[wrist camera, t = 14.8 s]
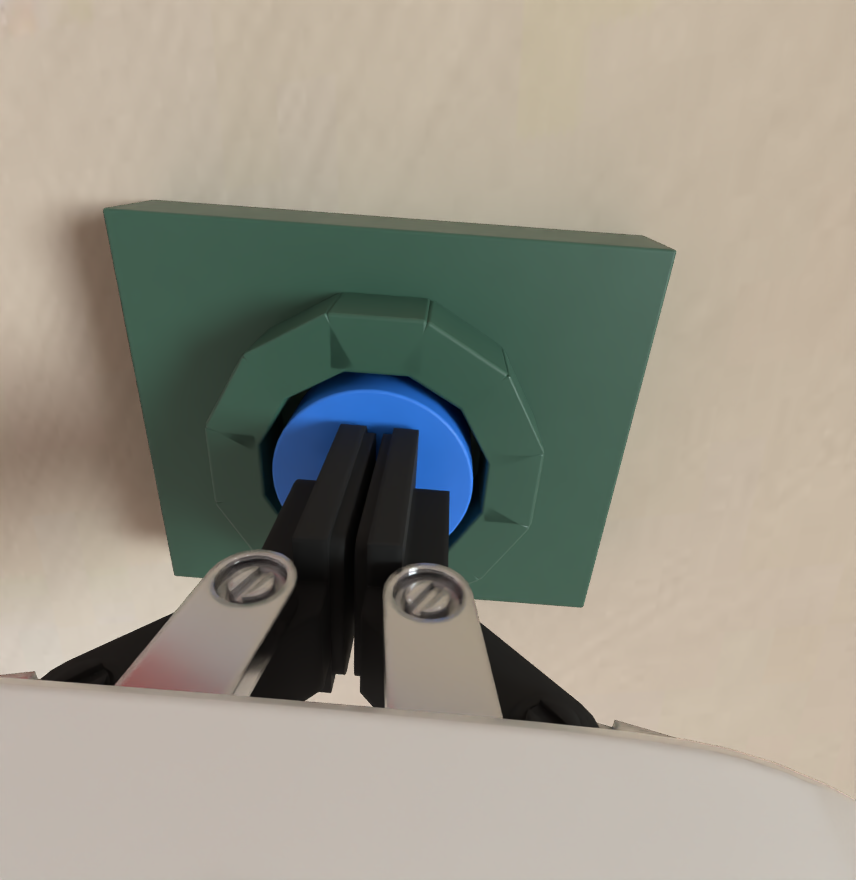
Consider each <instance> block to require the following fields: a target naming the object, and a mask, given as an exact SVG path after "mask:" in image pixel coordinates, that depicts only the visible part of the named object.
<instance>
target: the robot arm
mask: <svg viewBox="0 0 856 880" xmlns="http://www.w3.org/2000/svg"><path fill="white" fill-rule="evenodd" d="M418 440H419V430H414V429H402V428H394V429H393V433H392V434H383V437H382V441H381V444H380V448H379V452H378V456H377V460H376V433H369V432H367V426H363V425H350V424H341V425H340V426H339V429H338V431H337V433H336V436H335V438H334V440H333V443H332V445H331V447H330V450H329V452H328V454H327V457H326V459H325V461H324V464H323V466H322V468H321V471H320V473H319V475H318V478H317V480H304V479H297V480H296V481H295V482H294V484H293V486H292V488H291V490H290V492H289V494H288V496H287V498H286V500H285V502H284V504H283V506H282V508H281V510H280V512H279V514H278V516H277V518H276V520H275V523H274V525H273V527H272V529H271V531H270V533H269V535H268V537H267V539H266V541H265V543H264V545H263V547H262V549H261V550H260V549H257V550H248V551H243V552H239V553H236V554H233V555H230V556H228V557H227V558H225V559H223V560H221V561H219V562H218V563H217V564H216V565H215V566H214V567H213V568H211V569H210V570H209V572H208V573H207V574H206V575H205V576H204V578H203V579H202V580H201V581H200V582H199V584H198V585H197V586H196V587H195V588H194V590H193V591H192V592H191V593H190V594H189V596H188V597H187V598H186V599H185V601H184V602H183V603H182V604H181V605H180V607H179V608H178V609H177V610H176V611H175V612H174V613H172V614H170V615H168V616H166V617H163V618H161V619H159V620H157V621H155V622H152V623H150V624H148V625H146V626H144V627H141V628H139V629H137V630H135V631H133V632H130V633H128V634H126V635H124V636H122V637H119V638H117V639H115V640H113V641H111V642H108V643H106V644H104V645H102V646H100V647H97V648H95V649H93V650H91V651H89V652H86V653H84V654H82V655H80V656H78V657H75V658H73V659H71V660H69V661H67V662H65V663H63V664H62V665H60V666H58V667H56V668H55V669H53V670H51V671H50V672H49V673H47V674H46V675H45V676H44V677H42V678H41V679H38V678H37V676H36V673H35V671H33V672H24V673H15V674H6V675H0V880H856V800H855V799H853V798H852V797H850V796H848V795H846V794H844V793H842V792H841V791H839V790H837V789H835V788H833V787H831V786H829V785H827V784H825V783H823V782H821V781H818V780H816V779H813V778H811V777H809V776H806V775H804V774H801V773H799V772H797V771H794V770H792V769H789V768H787V767H785V766H782V765H780V764H777V763H775V762H771V761H768V760H765V759H762V758H759V757H755V756H752V755H749V754H746V753H743V752H739V751H736V750H733V749H729V748H725V747H720V746H715V745H711V744H706V743H701V742H697V741H692V740H687V739H680V738H675V737H672V736H668V735H665V734H662V733H658V732H655V731H651V730H648V729H644V728H641V727H638V726H634V725H631V724H627V723H624V722H620V721H617V720H615V721H614V723H613V726H612V727H610V726H606V725H603V724H599V723H597V722H596V721H595V719H594V717H593V716H592V715H591V714H590V713H589V712H588V711H587V710H586V709H585V708H584V706H583V705H582V704H581V703H579V702H578V701H577V700H576V699H574V698H573V697H572V696H571V695H569V694H568V693H567V692H566V691H564V690H563V689H562V688H561V687H559V686H558V685H557V684H556V683H555V682H553V681H552V680H551V679H550V678H548V677H547V676H546V675H545V674H543V673H542V672H541V671H540V670H538V669H537V668H536V667H535V666H534V665H532V664H531V663H530V662H529V661H527V660H526V659H525V658H524V657H522V656H521V655H520V654H519V653H517V652H516V651H515V650H514V649H512V648H511V647H510V646H509V645H508V644H506V643H505V642H504V641H503V640H501V639H500V638H499V637H498V636H496V635H495V634H494V633H493V632H491V631H490V630H489V629H488V628H486V627H485V626H484V625H483V624H482V623H480V621H479V617H478V613H477V609H476V605H475V601H474V597H473V593H472V590H471V588H470V586H469V583H468V582H467V581H466V580H465V579H464V578H463V577H462V575H461V574H459V573H458V572H456V571H454V570H452V569H451V568H449V567H448V554H449V505H450V491H443V490H430V489H418V488H415V487H416V471H417V456H418ZM353 639H354V675H355V676H360V693H361V694H362V695H363V696H364V697H365V698H366V699H367V701H368V702H369V703H370V704H371V705H372V706H373V707H366V706H354V705H343V704H331V703H319V702H307V701H305V700H307V699H308V698H310V697H311V696H313V695H314V694H316V693H318V692H326V693H331V692H332V687H333V683H334V679H335V674H343V675H345V674H346V672H347V668H348V663H349V658H350V653H351V649H352V644H353Z"/></svg>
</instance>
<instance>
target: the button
mask: <svg viewBox="0 0 856 880" xmlns="http://www.w3.org/2000/svg"><path fill="white" fill-rule="evenodd" d="M341 424H350V425H363V426H367V432H369V433H376V460H377V456H378V452H379V448H380V444H381V441H382V437H383V434H392V433H393V429H394V428H402V429H414V430H419V440H418V456H417V471H416V487H415V488H418V489H430V490H443V491H450V505H449V535H450V534H451V533H452V532H453V531H454V530H455V528H456V527H457V526H458V524H459V523H460V522H461V520H462V518H463V517H464V515H465V513H466V511H467V509H468V506H469V503H470V500H471V495H472V490H473V467H472V450H471V438H470V431H469V427H468V424H467V421H466V419H465V417H464V415H463V413H462V411H461V410H460V409H459V408H457V407H456V406H454V405H453V404H451V403H449V402H448V401H446V400H445V399H443V398H441V397H440V396H438V395H437V394H435V393H434V392H432V391H430V390H429V389H427V388H426V387H424V386H423V385H421V384H419V383H418V382H416V381H415V380H413V379H412V378H410V377H408V376H396V375H383V374H369V373H356V372H342V373H340V374H338V375H336V376H334V377H332V378H329V379H327V380H325V381H323V382H321V383H319V384H317V385H315V386H313V387H312V388H311V389H310V390H309V391H308V392H307V393H306V395H305V396H304V397H303V399H302V400H301V402H300V403H299V405H298V407H297V408H296V410H295V412H294V413H293V415H292V416H291V418H290V420H289V421H288V423H287V425H286V426H285V428H284V430H283V431H282V433H281V435H280V437H279V439H278V441H277V445H276V448H275V451H274V456H273V463H272V474H273V481H274V487H275V490H276V493H277V496H278V499H279V501H280V503H281V505H282V506H283V504H284V502H285V500H286V498H287V496H288V494H289V492H290V490H291V488H292V486H293V484H294V482H295V481H296V480H297V479H304V480H317V478H318V475H319V473H320V471H321V468H322V466H323V464H324V461H325V459H326V457H327V454H328V452H329V450H330V447H331V445H332V443H333V440H334V438H335V436H336V433H337V431H338V429H339V426H340V425H341Z"/></svg>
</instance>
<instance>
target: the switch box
mask: <svg viewBox="0 0 856 880" xmlns="http://www.w3.org/2000/svg"><path fill="white" fill-rule="evenodd" d="M103 213H104V218H105V224H106V229H107V234H108V239H109V244H110V249H111V254H112V259H113V264H114V270H115V275H116V280H117V285H118V290H119V295H120V300H121V305H122V310H123V316H124V321H125V326H126V331H127V336H128V341H129V346H130V351H131V356H132V362H133V367H134V372H135V377H136V382H137V387H138V392H139V397H140V402H141V407H142V413H143V418H144V423H145V428H146V433H147V438H148V443H149V448H150V453H151V459H152V464H153V469H154V474H155V479H156V484H157V489H158V494H159V499H160V505H161V510H162V515H163V520H164V525H165V530H166V535H167V540H168V545H169V551H170V556H171V561H172V566H173V571H174V575H175V576H184V577H196V578H204V576H205V575H206V574H207V573H208V572H209V570H210V569H211V568H213V567H214V566H215V565H216V564H217V563H218V562H219V561H221V560H223V559H225V558H227V557H228V556H230V555H233V554H236V553H239V552H243V551H248V550H257V549H260V550H261V549H262V547H263V545H264V543H265V541H266V539H267V537H268V535H269V533H270V531H271V529H272V527H273V525H274V523H275V520H276V518H277V516H278V514H279V512H280V510H281V508H282V505H281V503H280V501H279V499H278V496H277V493H276V490H275V487H274V481H273V474H272V463H273V456H274V451H275V448H276V445H277V441H278V439H279V437H280V435H281V433H282V431H283V430H284V428H285V426H286V425H287V423H288V421H289V420H290V418H291V416H292V415H293V413H294V412H295V410H296V408H297V407H298V405H299V403H300V402H301V400H302V399H303V397H304V396H305V395H306V393H307V392H308V391H309V390H310V389H311V388H312V387H313V386H315V385H317V384H319V383H321V382H323V381H325V380H327V379H329V378H332V377H334V376H336V375H338V374H340V373H342V372H356V373H369V374H383V375H396V376H408V377H410V378H412V379H413V380H415V381H416V382H418V383H419V384H421V385H423V386H424V387H426V388H427V389H429V390H430V391H432V392H434V393H435V394H437V395H438V396H440V397H441V398H443V399H445V400H446V401H448V402H449V403H451V404H453V405H454V406H456V407H457V408H459V409H460V410H461V411H462V413H463V415H464V417H465V419H466V421H467V424H468V427H469V431H470V438H471V450H472V467H473V490H472V495H471V500H470V503H469V506H468V509H467V511H466V513H465V515H464V517H463V518H462V520H461V522H460V523H459V524H458V526H457V527H456V528H455V530H454V531H453V532H452V533H451V534H450V535H449V554H448V567H449V568H451V569H452V570H454V571H456V572H458V573H459V574H461V575H462V577H463V578H464V579H465V580H466V581H467V582H468V583H469V586H470V588H471V590H472V593H473V597H474V599H478V600H491V601H504V602H517V603H530V604H542V605H555V606H568V607H583V606H584V602H585V598H586V594H587V590H588V587H589V583H590V579H591V575H592V571H593V567H594V564H595V560H596V556H597V552H598V548H599V545H600V541H601V537H602V533H603V529H604V526H605V522H606V518H607V514H608V510H609V507H610V503H611V499H612V495H613V491H614V487H615V484H616V480H617V476H618V472H619V468H620V465H621V461H622V457H623V453H624V449H625V446H626V442H627V438H628V434H629V430H630V427H631V423H632V419H633V415H634V411H635V407H636V404H637V400H638V396H639V392H640V388H641V385H642V381H643V377H644V373H645V369H646V366H647V362H648V358H649V354H650V350H651V347H652V343H653V339H654V335H655V331H656V327H657V324H658V320H659V316H660V312H661V308H662V305H663V301H664V297H665V293H666V289H667V286H668V282H669V278H670V274H671V270H672V267H673V263H674V259H675V255H676V250H674V249H672V248H670V247H667V246H665V245H663V244H661V243H658V242H656V241H654V240H652V239H649V238H647V237H645V236H640V235H626V234H612V233H599V232H585V231H571V230H558V229H544V228H530V227H517V226H503V225H489V224H476V223H462V222H448V221H435V220H421V219H407V218H394V217H380V216H366V215H352V214H339V213H325V212H311V211H298V210H284V209H270V208H257V207H243V206H229V205H216V204H202V203H188V202H175V201H161V200H150V201H144V202H138V203H132V204H126V205H120V206H114V207H107V208H104V209H103Z"/></svg>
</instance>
